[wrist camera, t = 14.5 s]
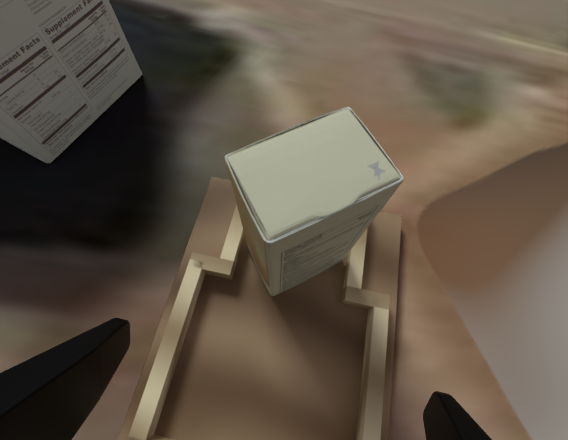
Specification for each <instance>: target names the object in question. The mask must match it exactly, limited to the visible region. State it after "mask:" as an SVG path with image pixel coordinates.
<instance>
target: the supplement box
mask: <svg viewBox="0 0 568 440" xmlns="http://www.w3.org/2000/svg"><path fill="white" fill-rule="evenodd" d="M141 75H142V72H141V70H140V68H139V66H138V64H137V62H136V59H135V57H134V55H133V53H132V51H131V49H130V46H129V44H128V42H127V40H126V38H125V35H124V33H123V31H122V29H121V27H120V24H119V22H118V20H117V18H116V16H115V13H114V11H113V9H112V7H111V5H110V2H109V0H0V138H1V139H3V140H5V141H7V142H8V143H10V144H12V145H14V146H16V147H18V148H19V149H21V150H23V151H25V152H27V153H28V154H30V155H32V156H34V157H36V158H38V159H39V160H41V161H43V162H45V163H51V162H52V161H53V160H54V159H56V158H57V157H58V156H59V155H60V154H61V153H62V152H63V151H64V150H65V149H66V148H67V147H68V146H69V145H70V144H71V143H72V142H73V141H74V140H75V139H76V138H77V137H79V136H80V135H81V134H82V133H83V132H84V131H85V130H86V129H87V128H88V127H89V126H90V125H91V124H92V123H93V122H94V121H95V120H96V119H97V118H98V117H99V116H100V115H101V114H102V113H103V112H105V111H106V110H107V109H108V108H109V107H110V106H111V105H112V104H113V103H114V102H115V101H116V100H117V99H118V98H119V97H120V96H121V95H122V94H123V93H124V92H125V91H126V90H127V89H128V88H129V87H130V86H131V85H132V84H134V83H135V82H136V81H137V80H138V79H139V78H140V77H141Z"/></svg>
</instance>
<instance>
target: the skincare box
mask: <svg viewBox="0 0 568 440" xmlns="http://www.w3.org/2000/svg"><path fill="white" fill-rule="evenodd" d="M225 163H226V166H227V170H228V173H229V177H230V181H231V184H232V188H233V192H234V196H235V200H236V204H237V208H238V211H239V215H240V219H241V223H242V226H243V230H244V234H245V238H246V241H247V245H248V249H249V251H250V253H251V256H252V258H253V260H254V262H255V265H256V267H257V269H258V271H259V273H260V276H261V278H262V280H263V282H264V284H265V286H266V288H267V290H268V292H269V294H270V295H271V296H276V295H278V294H280V293H282V292H284V291H287V290H289V289H291V288H293V287H295V286H297V285H299V284H301V283H303V282H305V281H306V280H308V279H310V278H312V277H314V276H316V275H318V274H320V273H322V272H323V271H325V270H327V269H329V268H331V267H332V266H334V265H336V264H338V263H340V262H341V261H343V259H344V258H345V257H346V255H347V254H348V253H349V251H350V250H351V249H352V247H353V246H354V245H355V243H356V242H357V241H358V240H359V238H360V237H361V236H362V234H363V233H364V232H365V230H366V229H367V228H368V226H369V225H370V224H371V222H372V221H373V220H374V219H375V217H376V216H377V215H378V213H379V212H380V211H381V209H382V208H383V207H384V205H385V204H386V203H387V201H388V200H389V199H390V197H391V196H392V195H393V193H394V192H395V191H396V189H397V188H398V187H399V185H400V184H401V183H402V182H403V180H404V177H403V176H402V174H401V173H400V171H399V170H398V169H397V168H396V167H395V165H394V164H393V162H392V161H391V159H390V158H389V157H388V155H387V154H386V153H385V151H384V150H383V149H382V147H381V146H380V145H379V143H378V142H377V141H376V139H375V138H374V136H373V135H372V134H371V133H370V131H369V130H368V129H367V127H366V126H365V125H364V124H363V122H362V121H361V120H360V119H359V118H358V117H357V115H356V114H355V113H354V112H353V110H352V109H351V108H350V107H345V108H342V109H339V110H336V111H333V112H330V113H327V114H324V115H322V116H319V117H316V118H314V119H311V120H308V121H306V122H303V123H301V124H299V125H296V126H293V127H291V128H288V129H286V130H284V131H281V132H279V133H276V134H274V135H271V136H269V137H267V138H264V139H262V140H259V141H257V142H255V143H253V144H250V145H248V146H245V147H243V148H241V149H239V150H237V151H234V152H232V153H230V154H227V155H226V156H225Z"/></svg>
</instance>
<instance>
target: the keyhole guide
mask: <svg viewBox="0 0 568 440" xmlns="http://www.w3.org/2000/svg"><path fill="white" fill-rule="evenodd" d="M401 217H402V216H400V215H395V214H390V213H386V212H381V211H380V212H379V213H378V215H377V216H376V217H375V219H374V220H373V221H372V222H371V224H370V225H369V226H368V228H367V229H366V230H365V232H364V233H363V234H362V236H361V237H360V238H359V240H358V241H357V242H356V243H355V245H354V246H353V247H352V249H351V250H350V251H349V253H348V254H347V255H346V257H345V258H344V259H343V261H341V262H340V263H338V264H336V265H334V266H332V267H331V268H329V269H327V270H325V271H323V272H322V273H320V274H318V275H316V276H314V277H312V278H310V279H308V280H306V281H305V282H303V283H301V284H299V285H297V286H295V287H293V288H291V289H289V290H287V291H284V292H282V293H280V294H278V295H276V296H271V295H270V294H269V292H268V290H267V288H266V286H265V284H264V282H263V280H262V278H261V276H260V273H259V271H258V269H257V267H256V265H255V262H254V260H253V258H252V256H251V253H250V251H249V249H248V245H247V241H246V238H245V234H244V230H243V226H242V223H241V219H240V215H239V211H238V208H237V204H236V200H235V196H234V192H233V188H232V184H231V181H230V180H226V179H221V178H216V177H212V178H211V180H210V183H209V186H208V189H207V191H206V194H205V197H204V200H203V203H202V205H201V208H200V211H199V214H198V217H197V219H196V222H195V225H194V228H193V231H192V233H191V236H190V239H189V242H188V244H187V247H186V250H185V253H184V256H183V258H182V261H181V264H180V267H179V270H178V272H177V275H176V278H175V281H174V284H173V286H172V289H171V292H170V295H169V298H168V300H167V303H166V306H165V309H164V311H163V314H162V317H161V320H160V323H159V325H158V328H157V331H156V334H155V337H154V339H153V342H152V345H151V348H150V351H149V353H148V356H147V359H146V362H145V364H144V367H143V370H142V373H141V376H140V378H139V381H138V384H137V387H136V390H135V392H134V395H133V398H132V401H131V404H130V406H129V409H128V412H127V415H126V417H125V420H124V423H123V426H122V429H121V431H120V434H119V437H118V440H389V429H390V411H391V393H392V376H393V358H394V340H395V323H396V305H397V287H398V270H399V252H400V235H401Z"/></svg>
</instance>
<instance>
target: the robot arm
mask: <svg viewBox="0 0 568 440" xmlns="http://www.w3.org/2000/svg"><path fill="white" fill-rule="evenodd" d="M129 345H130V323H129V321H127V320H124V319H119V318H114V319H111V320H109V321H107V322H105V323H103V324H101V325H99V326H97V327H95V328H93V329H91V330H88V331H86V332H84V333H82V334H80V335H78V336H76V337H74V338H72V339H70V340H68V341H66V342H64V343H62V344H60V345H58V346H55V347H53V348H51V349H49V350H47V351H45V352H43V353H41V354H39V355H37V356H35V357H33V358H31V359H29V360H27V361H24V362H22V363H20V364H18V365H16V366H14V367H12V368H10V369H8V370H6V371H4V372H2V373H0V440H72V438H73V437H74V435H75V434H76V433H77V431H78V430H79V428H80V427H81V425H82V424H83V423H84V421H85V420H86V418H87V417H88V415H89V414H90V413H91V411H92V410H93V408H94V407H95V405H96V404H97V402H98V401H99V399H100V397H101V396H102V394H103V392H104V391H105V389H106V387H107V385H108V384H109V382H110V380H111V378H112V377H113V375H114V373H115V371H116V370H117V368H118V366H119V364H120V363H121V361H122V359H123V357H124V355H125V354H126V352H127V350H128V348H129ZM423 420H424V427H425V434H426V440H492V439H491V438H490V437H489V436H488V435H487V434H486V433H485V432H484V431H483V430H482V428H481V427H480V426H479V425H478V424H477V423H476V422H475V421H474V420H473V419H472V418H471V416H470V415H469V414H468V413H467V412H466V411H465V410H464V409H463V408H462V407H461V406H460V404H459V403H458V402H457V401H456V400H455V399H454V398H453V397H452V396H451V395H449V394H446V393H442V392H438V391H435V392H434V393H433V394H432V396H431V398H430V399H429V401H428V403H427V405H426V407H425V409H424V413H423Z"/></svg>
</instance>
